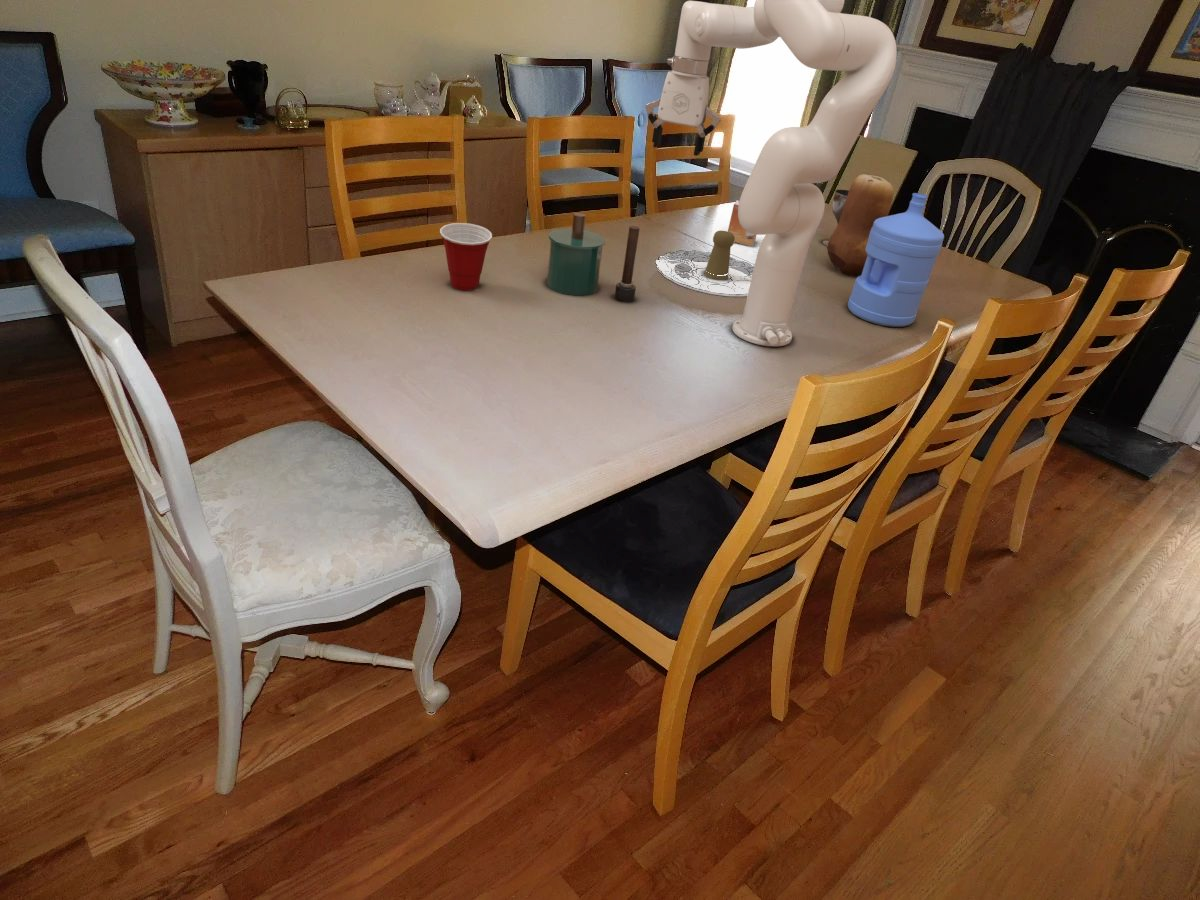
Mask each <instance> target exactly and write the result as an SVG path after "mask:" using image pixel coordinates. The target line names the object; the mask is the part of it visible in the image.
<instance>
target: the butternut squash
mask: <svg viewBox="0 0 1200 900" xmlns="http://www.w3.org/2000/svg"><path fill="white" fill-rule="evenodd" d="M848 190H849V192H848V196H847V200H846V203H845V206H844V208H843V211H842V214H841V218H840V221H839V223H838V224H837V226H836V227H835V229H834V231H833V233H832V234H831V236H830V238H829V239H828V240H829V242H828V245H826V251H827V255H828V258H829V260H830V263H831V264H832V265H833V266H835V267H836V268H837V269H838V270H839V271H840V273H843V274H845V275H847V276H852V275H859V274H862V272H863V269H864V265H865V262H866V259H867V252H866V246H867V243H868V238H869V234H870V231H871V228H872V227H873V224H874V221H875V220H876V219H878V218H882V217H886V216H889V214H890V209H891V206H892V203H893V200H894V196H895V195H894V194H895V190H894V187H893V185H892V183H891V182H889V181H887V180H886V179H885V178H883V177H881V176H878V175H870V174H865V173H864V174H859V175H858V176H856V177H855V178H854V179H853V180H852V182H851V185H850V187H849V189H848Z"/></svg>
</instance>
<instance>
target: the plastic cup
mask: <svg viewBox="0 0 1200 900" xmlns="http://www.w3.org/2000/svg"><path fill="white" fill-rule="evenodd" d="M439 235H440V236H441V237H442V241H443V246H444V249H445V256H446V263H447V269H448V272H449V273H448V274H449V280H450V284H451V286H452V288H454V289H456V290H461V291H473V290H475V289H477V288H478V287H479V285H480V281H481V280H480V279H481V274H482V272H483V268H484V263H485V258H486V254H487V250H488V246H489V244H490V242H491V240H492V239H493V233H492V232H491V231H490V230H489V229H488V228H487V227H484V226H482V225H478V224H474V223H468V222H454V223H447V224H445V225H443V226H442V227H441V228H439Z"/></svg>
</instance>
